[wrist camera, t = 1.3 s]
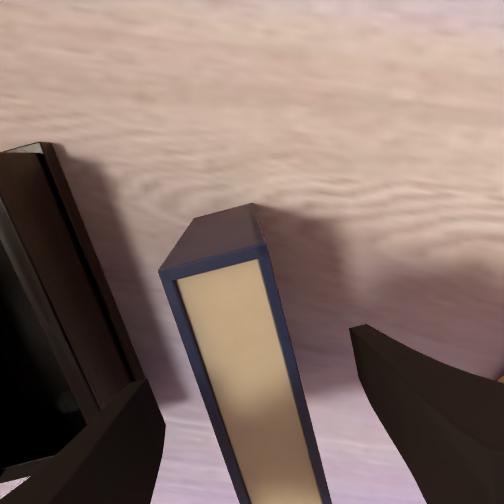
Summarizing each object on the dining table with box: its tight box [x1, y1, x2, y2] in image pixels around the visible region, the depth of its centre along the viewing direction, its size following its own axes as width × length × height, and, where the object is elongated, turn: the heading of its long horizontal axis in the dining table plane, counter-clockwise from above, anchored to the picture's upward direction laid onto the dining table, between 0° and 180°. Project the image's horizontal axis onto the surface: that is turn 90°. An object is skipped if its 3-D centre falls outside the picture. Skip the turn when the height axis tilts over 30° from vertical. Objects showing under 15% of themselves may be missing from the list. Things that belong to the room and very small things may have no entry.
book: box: [158, 203, 332, 504], centre depth 14 cm, size 10×3×8 cm, turn 14°
